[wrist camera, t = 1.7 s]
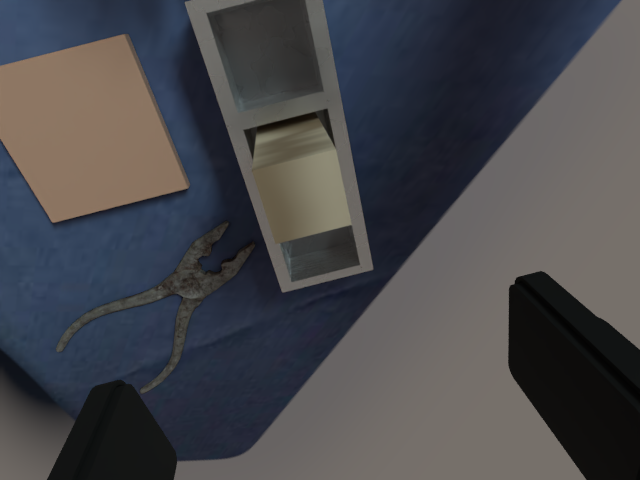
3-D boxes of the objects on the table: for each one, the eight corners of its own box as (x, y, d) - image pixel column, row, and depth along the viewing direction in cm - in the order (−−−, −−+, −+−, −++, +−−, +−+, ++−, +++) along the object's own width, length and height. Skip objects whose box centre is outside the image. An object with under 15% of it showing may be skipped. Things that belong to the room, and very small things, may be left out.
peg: (314, 110, 27) (336, 149, 18) (326, 165, 29) (351, 224, 20) (257, 125, 27) (251, 170, 18) (273, 179, 29) (275, 244, 20)
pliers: (46, 364, 35) (140, 179, 28) (51, 357, 35) (143, 175, 29) (154, 399, 38) (260, 241, 31) (156, 392, 39) (260, 236, 32)
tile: (128, 34, 24) (124, 34, 23) (190, 184, 29) (188, 188, 28) (-30, 74, 24) (-39, 76, 23) (58, 218, 29) (52, 222, 28)
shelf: (309, -23, 24) (316, -33, 20) (362, 244, 33) (373, 269, 29) (197, 6, 24) (184, 2, 20) (280, 264, 33) (282, 292, 29)
